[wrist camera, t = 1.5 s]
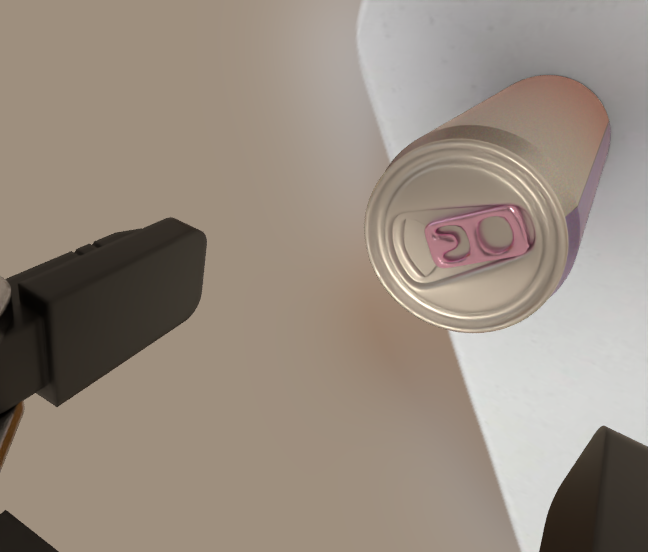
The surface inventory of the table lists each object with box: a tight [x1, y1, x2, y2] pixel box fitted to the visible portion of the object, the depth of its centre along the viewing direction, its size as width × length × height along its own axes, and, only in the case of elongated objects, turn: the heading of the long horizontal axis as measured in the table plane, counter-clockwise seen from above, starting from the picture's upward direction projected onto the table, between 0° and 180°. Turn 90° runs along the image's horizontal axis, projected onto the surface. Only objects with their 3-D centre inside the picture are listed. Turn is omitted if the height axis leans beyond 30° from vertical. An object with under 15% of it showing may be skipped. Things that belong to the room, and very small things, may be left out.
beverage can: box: [364, 75, 611, 333], centre depth 21 cm, size 6×6×15 cm
